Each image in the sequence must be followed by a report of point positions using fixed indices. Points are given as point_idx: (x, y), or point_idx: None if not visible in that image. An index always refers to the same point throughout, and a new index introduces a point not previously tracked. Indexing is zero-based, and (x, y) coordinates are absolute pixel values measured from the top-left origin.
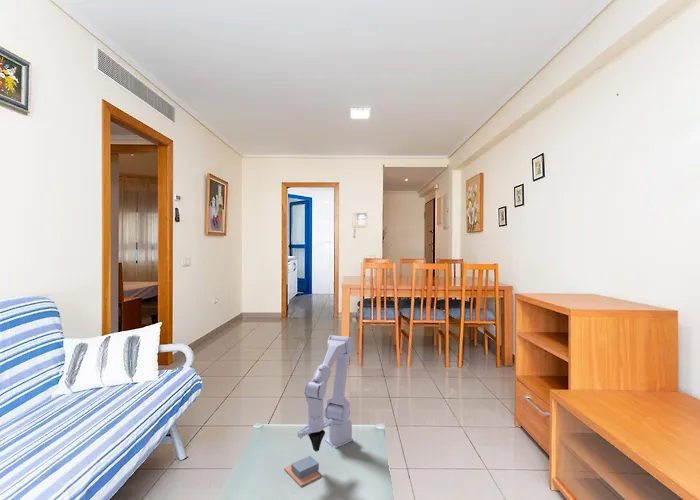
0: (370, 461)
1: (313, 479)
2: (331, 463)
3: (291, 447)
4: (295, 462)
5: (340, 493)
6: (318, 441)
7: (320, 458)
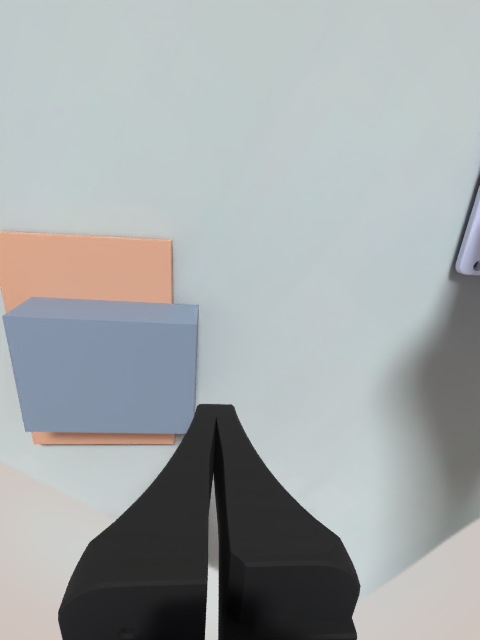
0: (460, 480)
1: (125, 441)
2: (309, 377)
3: None
4: (42, 323)
5: None
6: (219, 547)
7: (295, 291)
